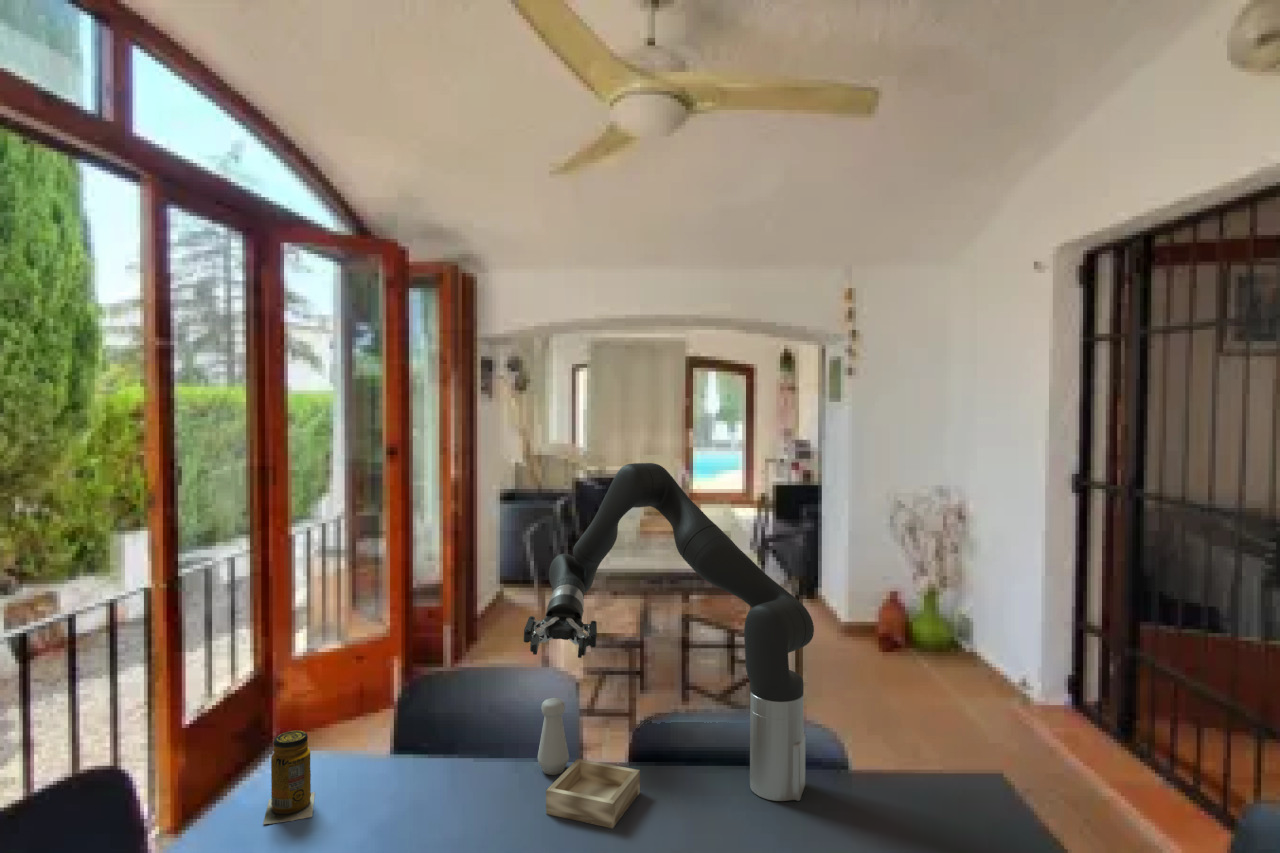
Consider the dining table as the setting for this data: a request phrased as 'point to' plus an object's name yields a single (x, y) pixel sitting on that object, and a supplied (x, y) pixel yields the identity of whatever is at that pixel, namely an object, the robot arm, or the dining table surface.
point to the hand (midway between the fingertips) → (557, 652)
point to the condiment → (290, 779)
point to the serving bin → (593, 793)
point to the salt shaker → (553, 738)
